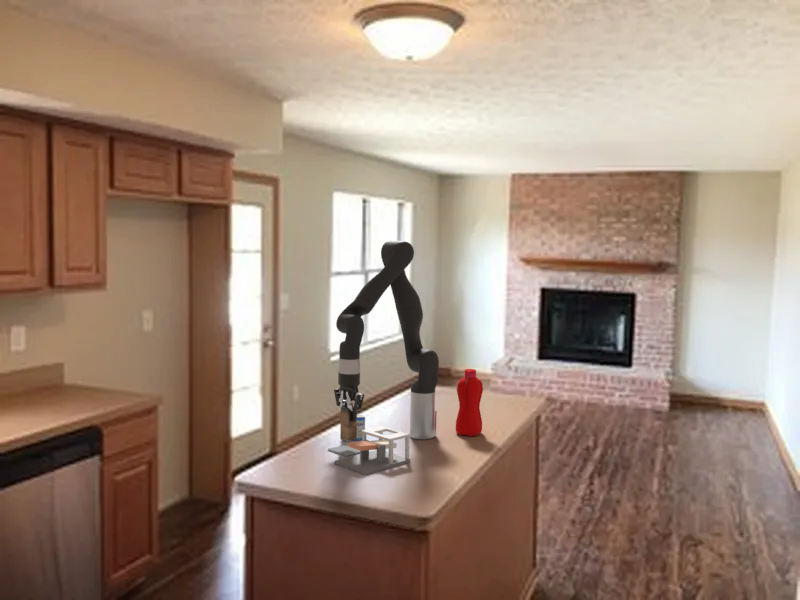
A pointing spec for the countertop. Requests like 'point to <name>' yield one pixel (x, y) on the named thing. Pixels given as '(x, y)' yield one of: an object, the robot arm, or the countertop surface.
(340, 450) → the mat
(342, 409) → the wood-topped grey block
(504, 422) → the countertop surface
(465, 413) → the water bottle
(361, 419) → the medicine box
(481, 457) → the countertop surface
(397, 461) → the white square frame
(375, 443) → the rocker
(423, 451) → the countertop surface
